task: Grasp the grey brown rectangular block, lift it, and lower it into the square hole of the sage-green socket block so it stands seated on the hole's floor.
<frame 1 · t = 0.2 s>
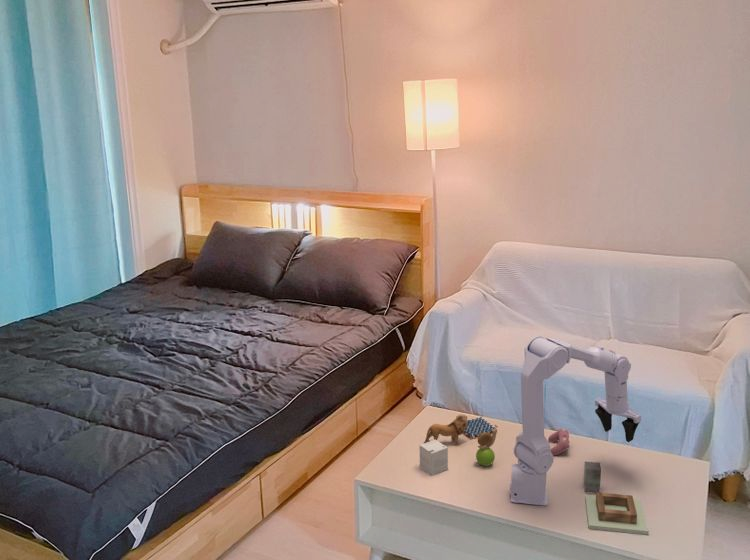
hand: (618, 435, 200), 10 cm above the table, tool pointing down, fingers open, 7 cm apart
woven mat: (475, 431, 228), on the table
video game controller: (558, 449, 215), on the table
skincare box: (433, 469, 205), on the table
socket block: (615, 515, 181), on the table
grey brown rectangular block: (591, 488, 193), on the table
animal on green ball: (486, 464, 207), on the table
lion figurine: (446, 443, 220), on the table
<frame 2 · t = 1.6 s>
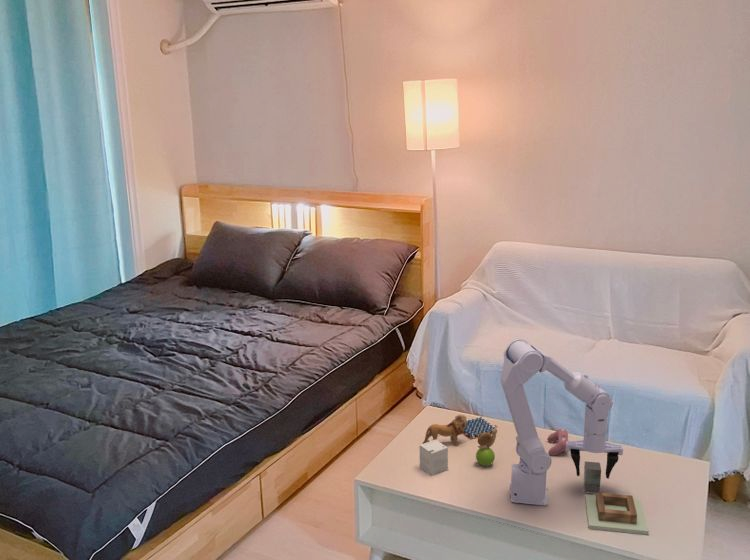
hand: (592, 475, 192), 4 cm above the table, tool pointing down, fingers open, 7 cm apart
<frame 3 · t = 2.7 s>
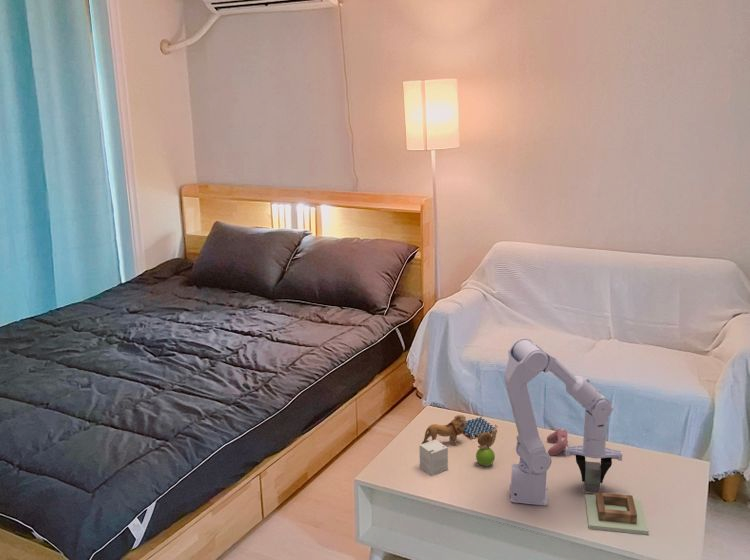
hand: (591, 480, 193), 2 cm above the table, tool pointing down, fingers closed on grey brown rectangular block, 4 cm apart
grey brown rectangular block: (591, 488, 193), on the table, touching gripper
everything else where it was.
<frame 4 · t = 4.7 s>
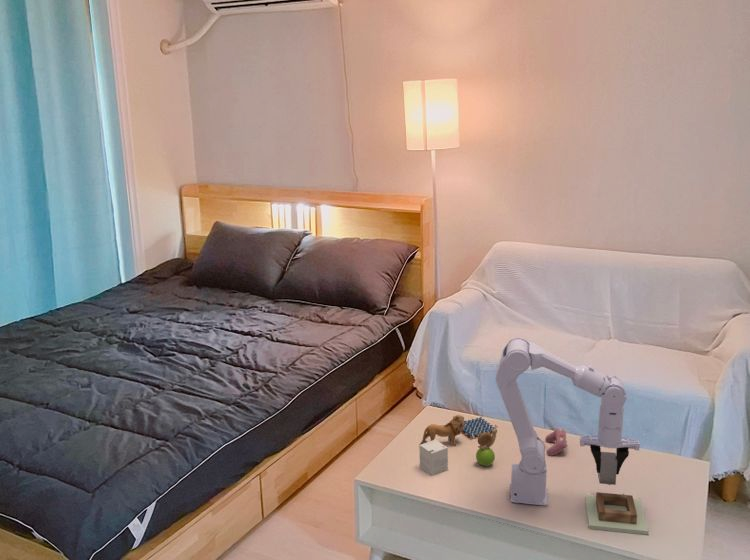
hand: (607, 471, 184), 9 cm above the table, tool pointing down, fingers closed on grey brown rectangular block, 4 cm apart
grey brown rectangular block: (606, 480, 184), point 7 cm above the table, touching gripper
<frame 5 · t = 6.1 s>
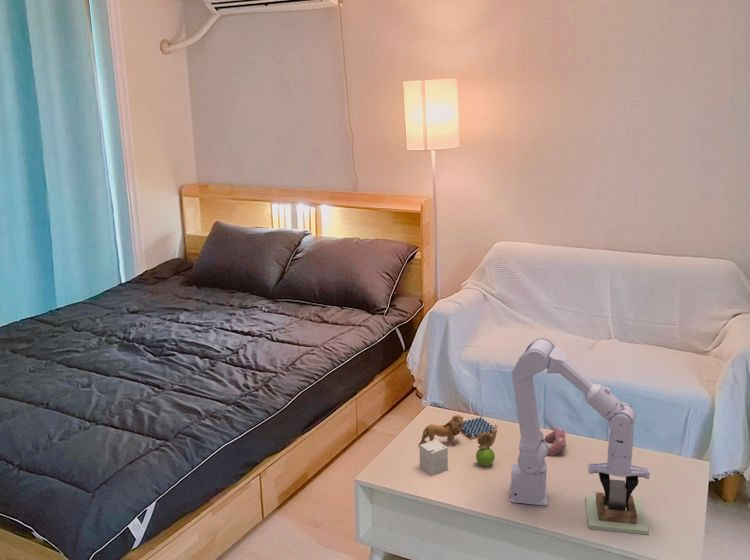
hand: (616, 500, 180), 4 cm above the table, tool pointing down, fingers closed on grey brown rectangular block, 4 cm apart
grey brown rectangular block: (615, 508, 181), point 2 cm above the table, touching gripper
when the fingers open (4 cm above the table, at t = 6.9 s): grey brown rectangular block stays where it is, resting on socket block.
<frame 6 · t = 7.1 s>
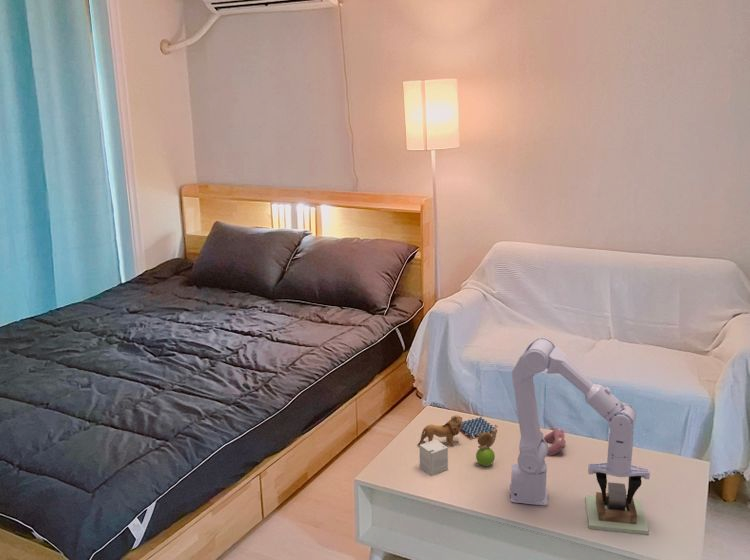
hand: (616, 500, 180), 4 cm above the table, tool pointing down, fingers open, 5 cm apart
grey brown rectangular block: (615, 511, 181), point 1 cm above the table, touching socket block
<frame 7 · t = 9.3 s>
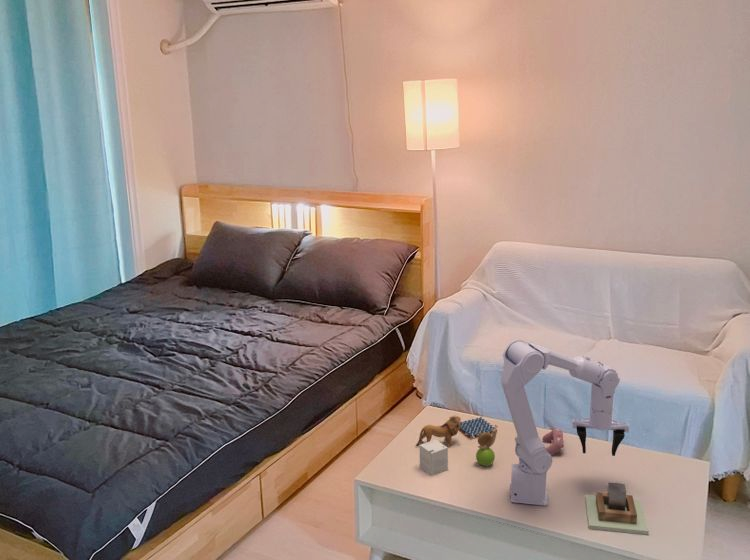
hand: (598, 452, 193), 9 cm above the table, tool pointing down, fingers open, 7 cm apart
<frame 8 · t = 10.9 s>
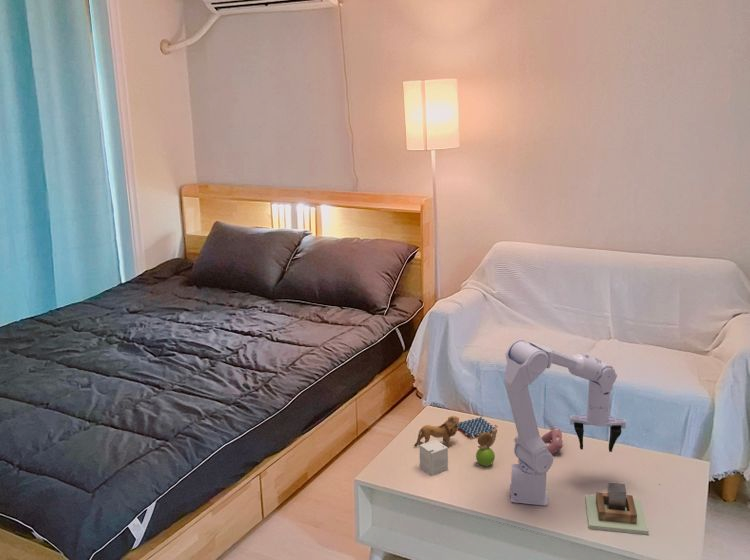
hand: (595, 448, 195), 9 cm above the table, tool pointing down, fingers open, 7 cm apart
at the end: grey brown rectangular block 0.3 cm off-centre on the socket block, point 1.0 cm above the socket block's base; grey brown rectangular block tilted 0°; the gripper is holding nothing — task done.
